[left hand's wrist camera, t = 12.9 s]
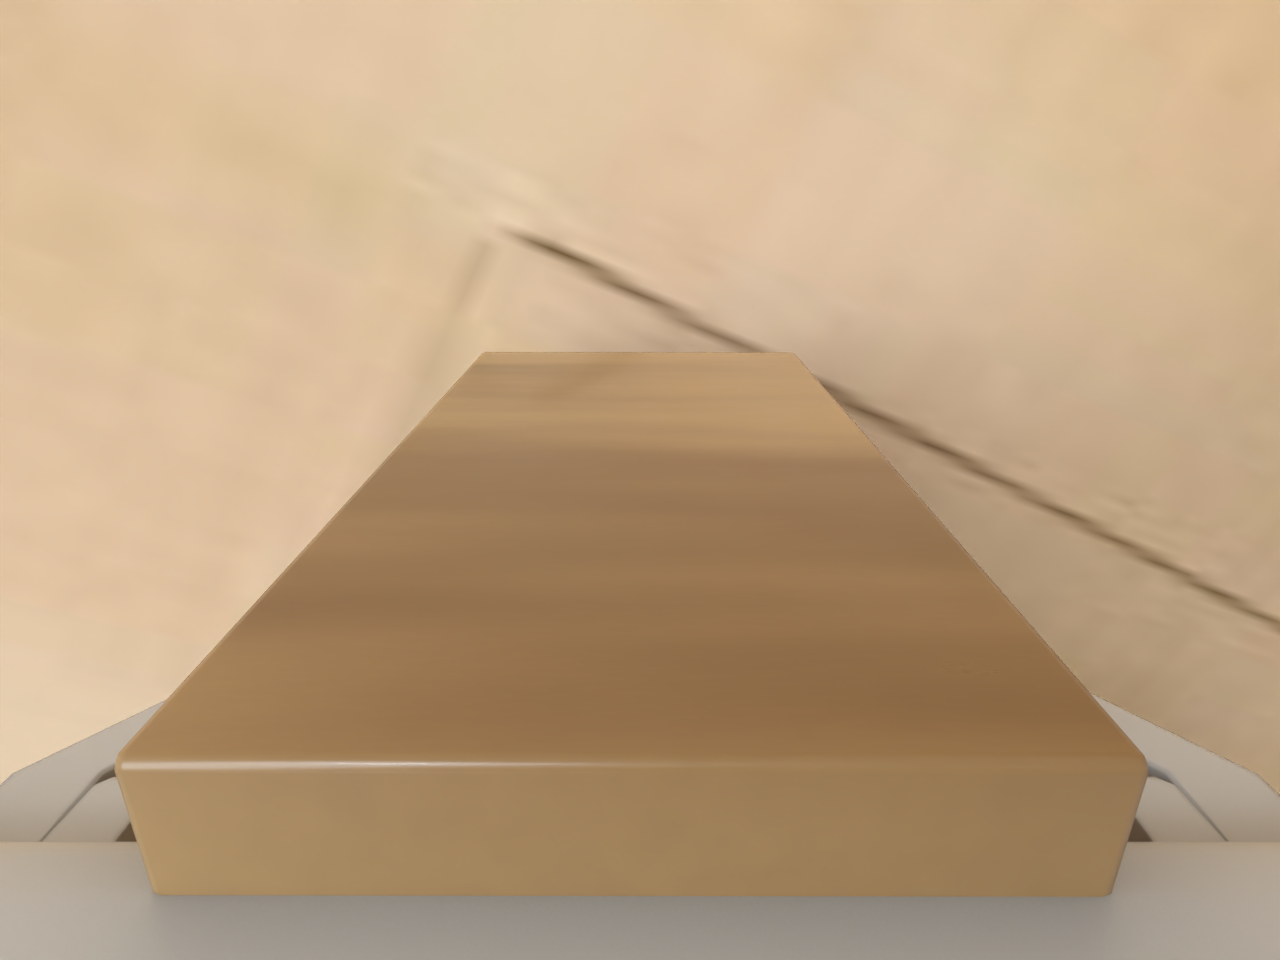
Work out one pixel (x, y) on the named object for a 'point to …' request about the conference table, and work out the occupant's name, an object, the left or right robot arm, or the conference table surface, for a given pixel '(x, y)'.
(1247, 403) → the conference table surface
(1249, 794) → the left robot arm
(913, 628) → the box
